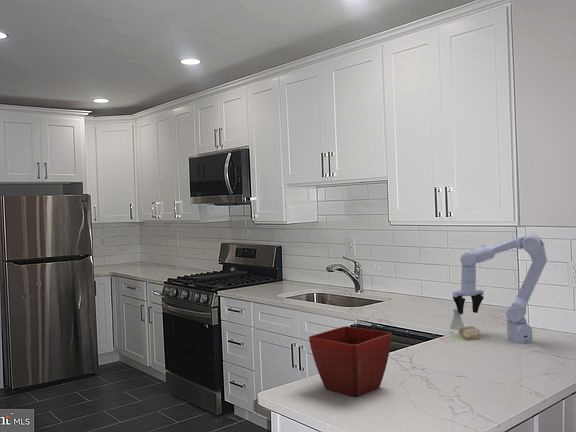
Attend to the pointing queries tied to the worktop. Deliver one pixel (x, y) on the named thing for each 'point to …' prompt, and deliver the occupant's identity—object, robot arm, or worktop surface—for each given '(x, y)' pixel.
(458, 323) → the flask
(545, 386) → the worktop surface
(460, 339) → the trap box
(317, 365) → the plant pot
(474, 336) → the birch block
